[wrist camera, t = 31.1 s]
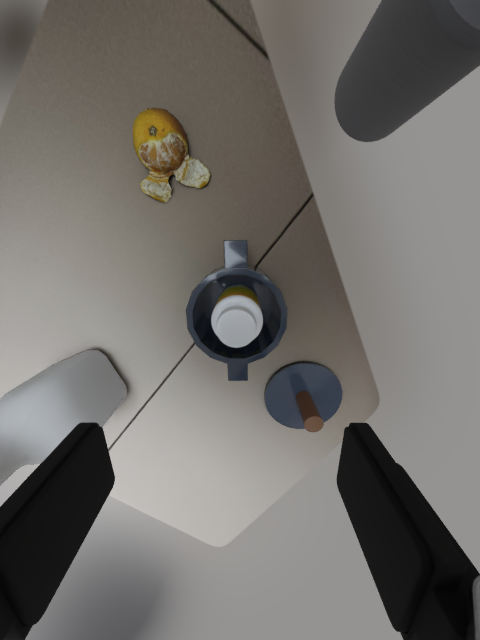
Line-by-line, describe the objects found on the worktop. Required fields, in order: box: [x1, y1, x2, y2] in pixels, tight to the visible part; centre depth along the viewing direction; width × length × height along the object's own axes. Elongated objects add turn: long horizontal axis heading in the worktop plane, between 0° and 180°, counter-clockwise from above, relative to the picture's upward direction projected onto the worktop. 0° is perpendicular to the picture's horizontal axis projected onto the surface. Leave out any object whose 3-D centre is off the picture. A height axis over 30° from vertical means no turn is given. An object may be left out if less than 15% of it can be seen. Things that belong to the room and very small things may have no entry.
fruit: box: [133, 108, 210, 203], centre depth 25 cm, size 8×8×4 cm
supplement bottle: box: [211, 284, 263, 348], centre depth 27 cm, size 6×6×10 cm
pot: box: [186, 240, 287, 381], centre depth 28 cm, size 11×16×8 cm
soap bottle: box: [0, 350, 127, 485], centre depth 25 cm, size 10×10×23 cm
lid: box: [265, 362, 342, 432], centre depth 33 cm, size 12×12×7 cm
